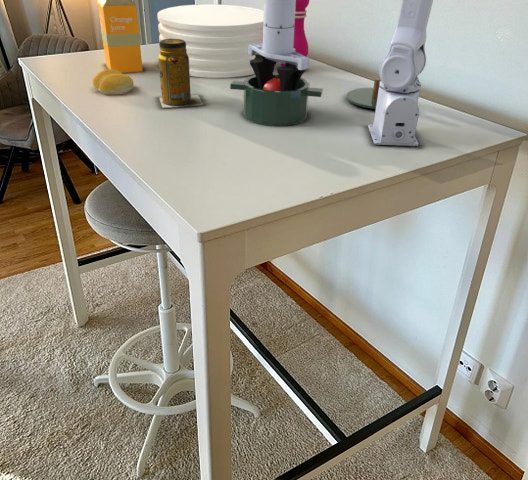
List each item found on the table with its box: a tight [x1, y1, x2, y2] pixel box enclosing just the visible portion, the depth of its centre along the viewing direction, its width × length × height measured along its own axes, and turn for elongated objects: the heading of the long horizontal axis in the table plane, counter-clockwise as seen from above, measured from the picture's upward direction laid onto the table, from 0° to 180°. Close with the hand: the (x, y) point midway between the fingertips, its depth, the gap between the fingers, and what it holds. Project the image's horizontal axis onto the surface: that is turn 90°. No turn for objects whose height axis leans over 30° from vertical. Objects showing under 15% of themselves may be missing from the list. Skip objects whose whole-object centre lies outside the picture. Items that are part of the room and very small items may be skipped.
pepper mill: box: [280, 0, 310, 67], centre depth 133 cm, size 7×7×20 cm
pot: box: [229, 73, 324, 127], centre depth 108 cm, size 13×18×6 cm
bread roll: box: [92, 68, 134, 96], centre depth 120 cm, size 8×9×4 cm
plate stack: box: [157, 3, 264, 79], centre depth 138 cm, size 28×28×12 cm
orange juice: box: [96, 0, 144, 74], centre depth 130 cm, size 8×9×20 cm
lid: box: [345, 76, 381, 110], centre depth 118 cm, size 14×14×5 cm
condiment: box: [158, 39, 204, 109], centre depth 112 cm, size 7×8×12 cm
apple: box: [263, 73, 281, 91], centre depth 107 cm, size 6×6×6 cm
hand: (275, 100), depth 108 cm, fingers closed on apple, 5 cm apart
